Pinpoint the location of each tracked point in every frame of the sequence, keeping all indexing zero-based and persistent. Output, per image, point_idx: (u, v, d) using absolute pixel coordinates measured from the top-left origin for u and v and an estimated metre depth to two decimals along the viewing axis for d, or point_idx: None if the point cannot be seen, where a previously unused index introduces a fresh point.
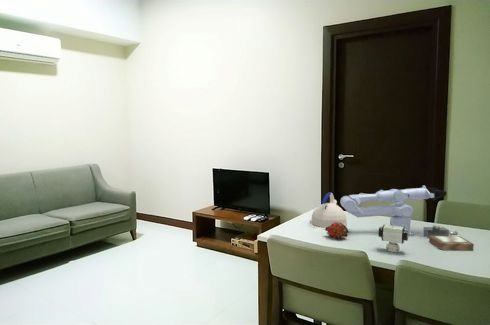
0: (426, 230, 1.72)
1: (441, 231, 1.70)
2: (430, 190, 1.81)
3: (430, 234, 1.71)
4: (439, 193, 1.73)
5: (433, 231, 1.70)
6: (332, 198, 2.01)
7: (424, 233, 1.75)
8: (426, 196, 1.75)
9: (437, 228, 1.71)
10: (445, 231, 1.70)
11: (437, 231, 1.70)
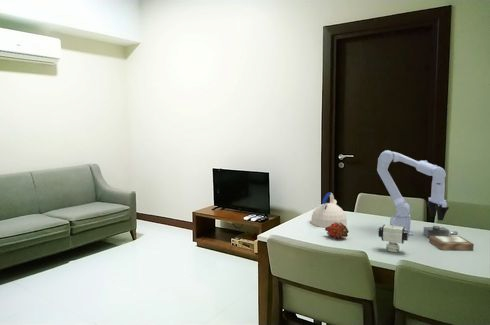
0: (426, 230, 1.72)
1: (441, 231, 1.70)
2: (434, 208, 1.75)
3: (430, 234, 1.71)
4: (441, 213, 1.68)
5: (433, 231, 1.70)
6: (332, 198, 2.01)
7: (424, 233, 1.75)
8: (437, 201, 1.69)
9: (437, 228, 1.71)
10: (445, 231, 1.70)
11: (437, 231, 1.70)
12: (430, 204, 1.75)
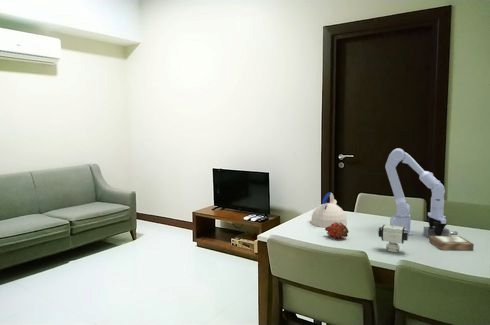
0: (426, 230, 1.72)
1: None
2: None
3: (430, 234, 1.71)
4: (440, 229, 1.69)
5: (433, 231, 1.70)
6: (332, 198, 2.01)
7: (424, 233, 1.74)
8: (437, 217, 1.69)
9: None
10: (445, 231, 1.70)
11: None
12: (430, 220, 1.75)
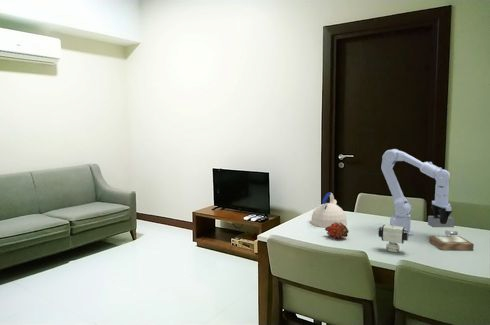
0: (431, 219, 1.68)
1: None
2: (439, 212, 1.71)
3: (435, 223, 1.66)
4: (445, 217, 1.65)
5: (438, 219, 1.66)
6: (332, 198, 2.01)
7: (429, 222, 1.70)
8: (442, 205, 1.65)
9: None
10: (450, 219, 1.66)
11: None
12: (435, 208, 1.71)
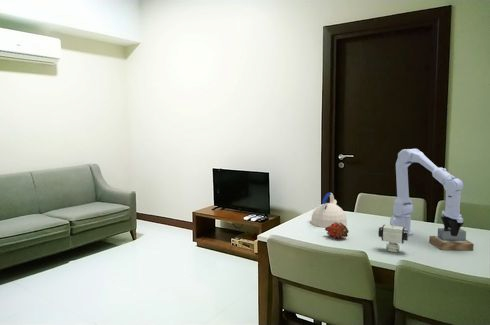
0: (441, 231, 1.58)
1: None
2: (449, 223, 1.61)
3: (445, 236, 1.56)
4: (456, 228, 1.55)
5: (449, 232, 1.56)
6: (332, 198, 2.01)
7: (439, 235, 1.60)
8: (452, 216, 1.55)
9: None
10: (462, 232, 1.56)
11: None
12: (445, 219, 1.61)
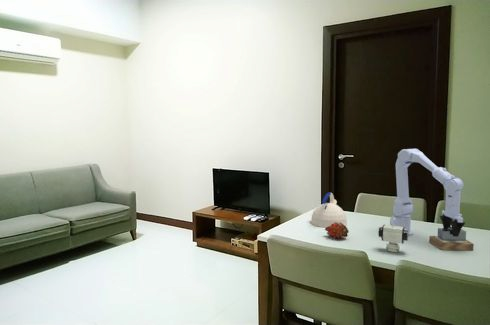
0: (441, 231, 1.58)
1: None
2: (448, 222, 1.62)
3: (445, 236, 1.56)
4: (457, 229, 1.54)
5: (449, 232, 1.56)
6: (332, 198, 2.01)
7: (438, 235, 1.60)
8: (452, 215, 1.55)
9: None
10: (462, 232, 1.56)
11: None
12: (444, 218, 1.62)
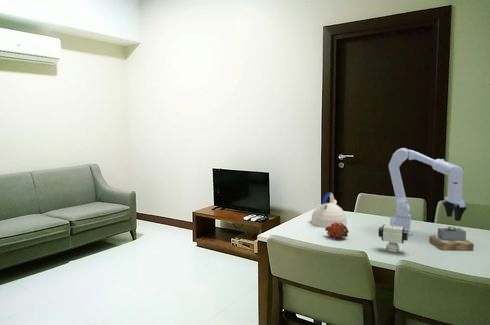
0: (441, 231, 1.58)
1: (457, 232, 1.56)
2: (450, 208, 1.71)
3: (445, 236, 1.56)
4: (459, 213, 1.63)
5: (449, 232, 1.56)
6: (332, 198, 2.01)
7: (438, 235, 1.60)
8: (455, 201, 1.64)
9: (453, 229, 1.57)
10: (462, 232, 1.56)
11: (453, 232, 1.56)
12: (446, 204, 1.71)
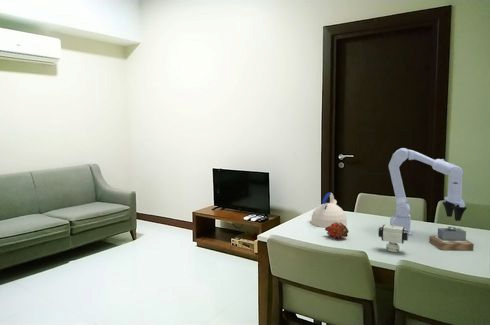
0: (441, 231, 1.58)
1: (457, 232, 1.56)
2: (450, 208, 1.71)
3: (445, 236, 1.56)
4: (459, 213, 1.63)
5: (449, 232, 1.56)
6: (332, 198, 2.01)
7: (438, 235, 1.60)
8: (455, 201, 1.64)
9: (453, 229, 1.57)
10: (462, 232, 1.56)
11: (453, 232, 1.56)
12: (446, 204, 1.71)
